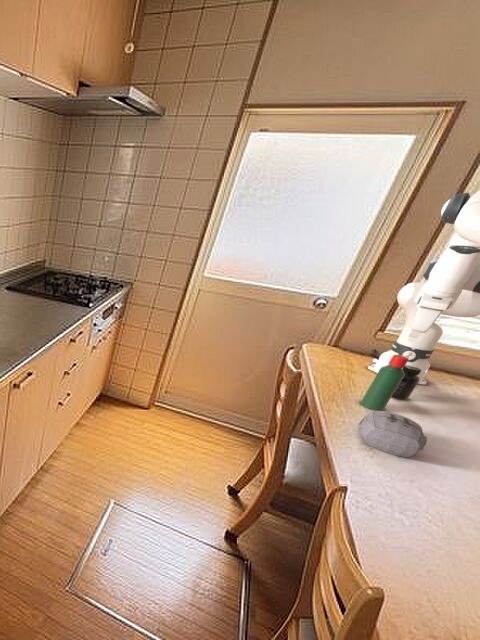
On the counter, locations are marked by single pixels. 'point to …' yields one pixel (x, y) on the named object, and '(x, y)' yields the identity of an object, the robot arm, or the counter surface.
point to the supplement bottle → (407, 383)
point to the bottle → (383, 387)
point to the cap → (398, 361)
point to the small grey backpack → (392, 433)
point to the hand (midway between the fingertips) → (411, 340)
